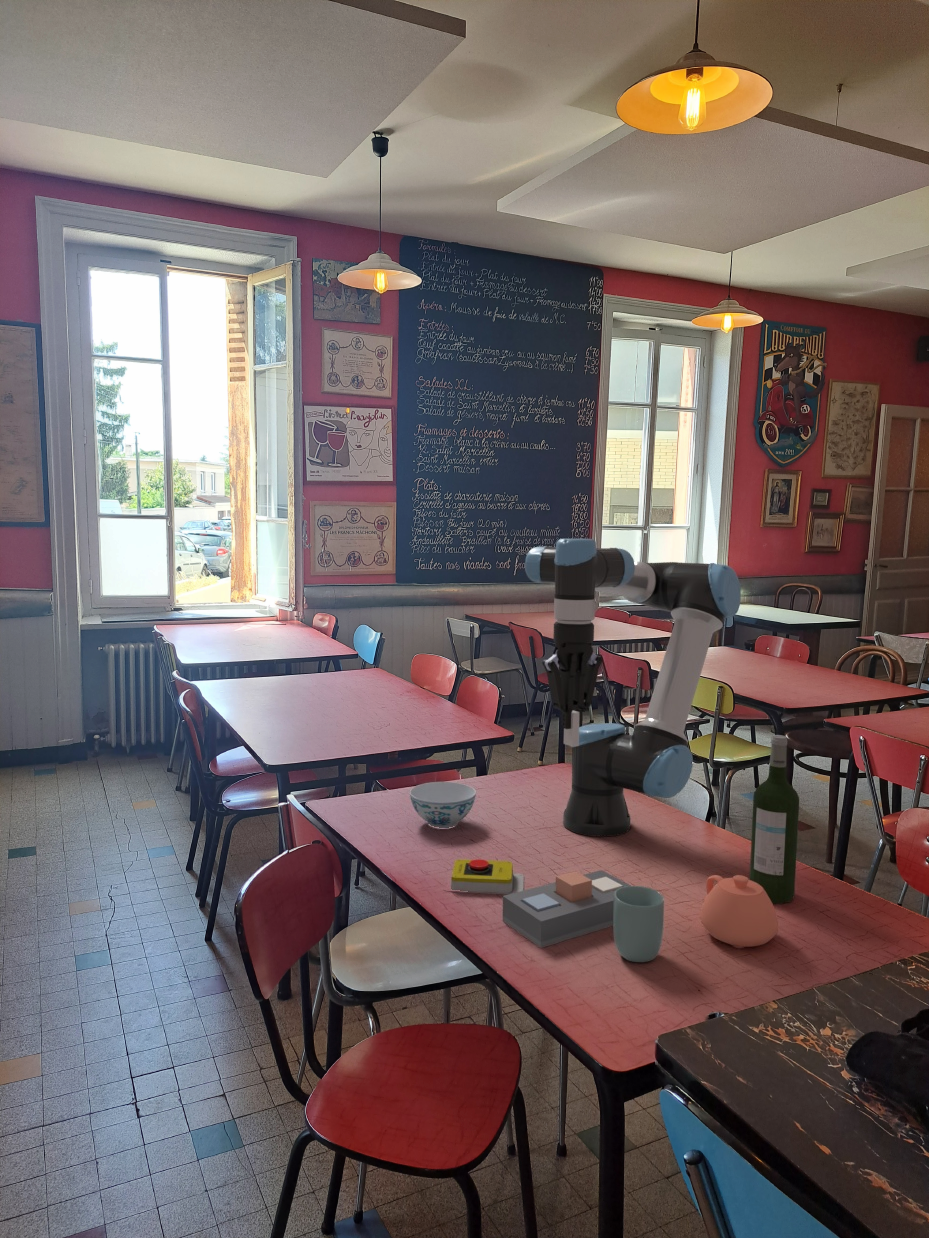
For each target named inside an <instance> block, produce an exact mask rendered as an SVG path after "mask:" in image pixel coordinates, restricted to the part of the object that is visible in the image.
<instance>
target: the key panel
mask: <svg viewBox="0 0 929 1238" xmlns="http://www.w3.org/2000/svg"><path fill="white" fill-rule="evenodd" d="M582 875H583V876H585V877H587V878H589V879H591V880H596V879H599V878H603V877H607V878H609V879H611V880H613V881H615V882H617V883H619V884H621V885H622V887H626V886H632V885H631V884H629V883H627V882H626V881H624V880H621V879H619V878H618V877H615V876H613V875H612V874H610V873H608V872H606V871H604V870H602V869H600V870H596V871H593V872H589V873H586V874H582ZM615 891H616V890H614V891H611V892H607V893H604V894H603V893H601V892H599V891H597V890H596V889H594V888H592V897H589V898H586V899H582V900H579V901H575V902H572V903H571V902H569V901H568V900H566V899H564V898H563V897H561V896H559V895H558V894H556V881H555V882H551V883H548V884H543V885H540V886H535V887H532V888H529V889H523V891H520V892H516V893H512V894H504V895H502V922H503V923H504V924H506V926H507V925H508V926H509V927H510V928H512V929H513V930H514V931H516V932H517V933H519V934H520V935H522V936H523V937H524V938H526V939H528V940H529V941H531V943H533V944H534V945H535V946H537V947H539V948H540V949H542V948H545V947H549V946H552V945H555V944H558V943H561V942H564V941H569V940H571V939H575V938H577V937H578V938H579V937H581V936H584V935H587V934H590V933H594V932H597V931H601V930H603V929H606V928H607V929H608V928H610V927H613V905H614V893H615ZM543 893H544V894H545V895H547V896H549V897H550V898H552V899H553V900H555V901H557V902H558V903H559V906H557V907H554V908H550V909H547V910H543V911H540V912H537V911H535V910H534V909H532V908H531V907H529V906H528V905H526V904H525V903H523V899H525V898H528V897H532V896H536V895H540V894H543Z"/></svg>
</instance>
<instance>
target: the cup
mask: <svg viewBox="0 0 929 1238" xmlns="http://www.w3.org/2000/svg"><path fill="white" fill-rule="evenodd" d="M664 923H665V898H664V896H663V894H661V892H659V891H658V890H656V889H654V888H651V887H649V886H648V887H647V886H643V885H642V886H641V885H631V886H626V887H622V888H619V889H617V890H616V891H615V893H614V905H613V926H612V928H613V929H612V930H613V931H612V932H613V940H614V941H613V942H614V945H615V947H616V950H617V952H618V953H619V955H620V956H621V957H623V958H624V959H625V960H627V961H630V962H633V963H647V962H650V961H653V960H654V959H655V958H656V957H657V956H658V954H659V952H660V950H661V946H662V941H663V937H664V936H663V935H664V926H665V924H664Z"/></svg>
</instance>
